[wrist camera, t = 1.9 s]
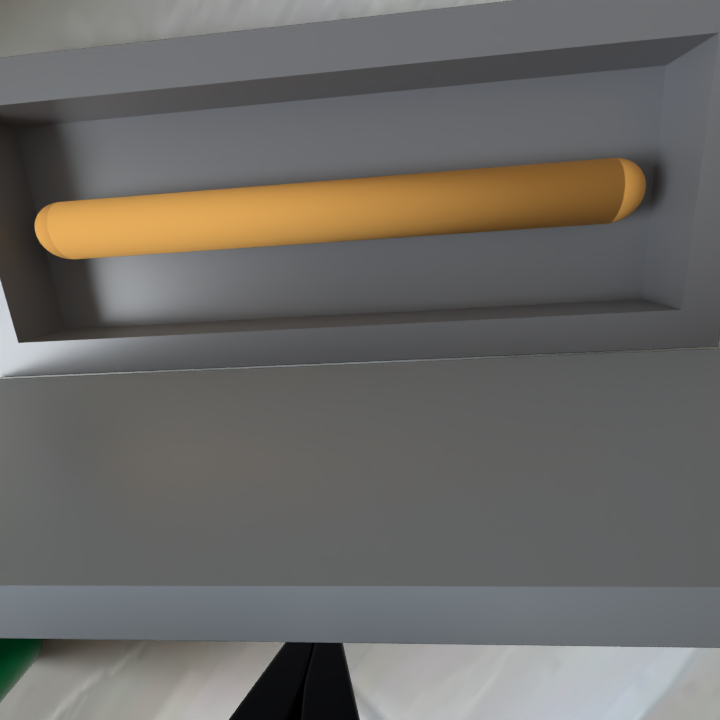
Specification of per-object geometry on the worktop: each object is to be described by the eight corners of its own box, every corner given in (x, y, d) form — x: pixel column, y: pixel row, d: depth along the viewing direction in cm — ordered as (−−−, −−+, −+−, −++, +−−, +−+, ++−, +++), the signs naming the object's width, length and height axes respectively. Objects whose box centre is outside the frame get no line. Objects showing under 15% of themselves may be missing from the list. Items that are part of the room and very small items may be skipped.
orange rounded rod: (628, 160, 12) (663, 149, 10) (623, 222, 12) (655, 221, 11) (56, 205, 13) (12, 202, 12) (69, 259, 14) (28, 262, 12)
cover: (1331, 588, 4) (1278, 655, 4) (723, 348, 11) (717, 378, 11) (-519, 584, 6) (-477, 631, 6) (-10, 379, 13) (-1, 404, 13)
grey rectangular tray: (697, 26, 11) (778, -30, 9) (660, 326, 14) (717, 346, 11) (-9, 98, 13) (-99, 68, 11) (58, 354, 15) (-4, 377, 13)
